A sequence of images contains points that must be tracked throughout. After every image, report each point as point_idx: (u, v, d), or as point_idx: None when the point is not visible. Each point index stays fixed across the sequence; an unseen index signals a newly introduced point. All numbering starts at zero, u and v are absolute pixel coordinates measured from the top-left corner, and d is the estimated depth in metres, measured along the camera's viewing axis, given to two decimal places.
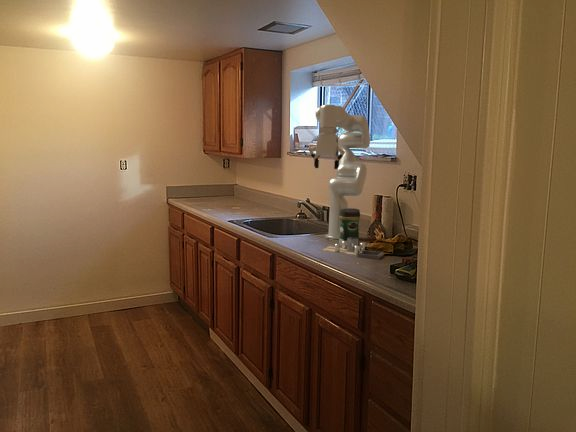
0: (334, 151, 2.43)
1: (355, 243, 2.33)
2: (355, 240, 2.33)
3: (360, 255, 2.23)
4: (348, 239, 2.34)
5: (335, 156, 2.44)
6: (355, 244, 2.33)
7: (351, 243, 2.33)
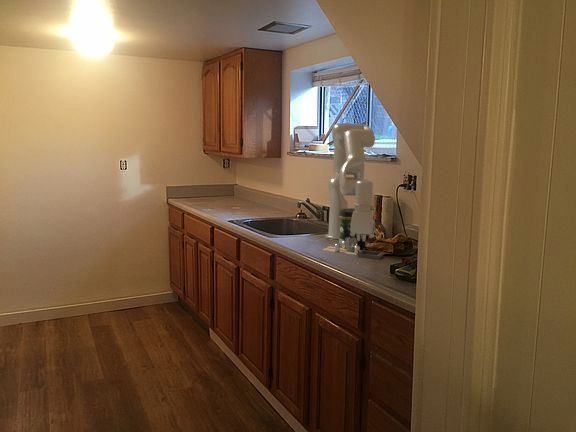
0: (371, 230, 2.29)
1: (354, 242, 2.33)
2: (353, 239, 2.33)
3: (360, 255, 2.23)
4: (346, 239, 2.34)
5: (364, 237, 2.31)
6: (354, 243, 2.33)
7: (350, 242, 2.33)
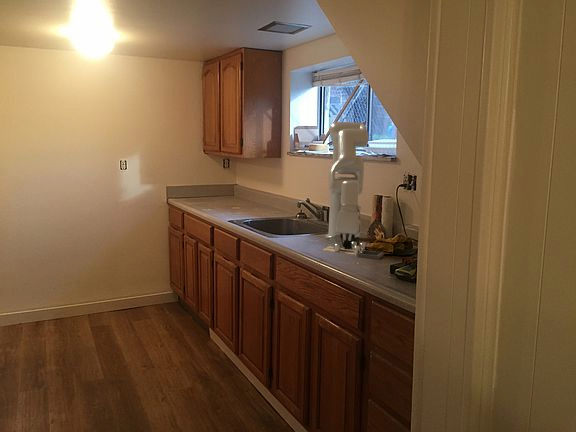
0: (356, 229, 2.31)
1: (339, 239, 2.35)
2: (339, 236, 2.35)
3: (360, 255, 2.23)
4: (332, 238, 2.36)
5: (350, 236, 2.34)
6: (340, 240, 2.35)
7: (336, 240, 2.35)
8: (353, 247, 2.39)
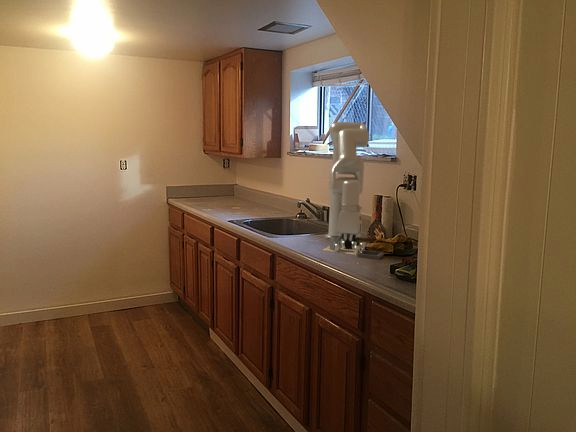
0: (357, 229, 2.31)
1: (338, 241, 2.36)
2: (338, 239, 2.35)
3: (360, 255, 2.23)
4: (331, 237, 2.36)
5: (351, 236, 2.33)
6: (338, 242, 2.36)
7: (334, 241, 2.35)
8: (353, 247, 2.39)
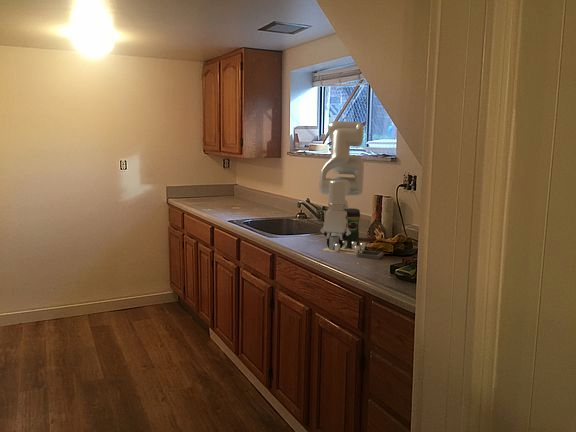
0: (343, 228, 2.34)
1: (337, 241, 2.36)
2: (337, 238, 2.35)
3: (360, 255, 2.23)
4: (330, 237, 2.36)
5: (341, 235, 2.35)
6: (337, 242, 2.36)
7: (333, 241, 2.35)
8: (353, 247, 2.39)
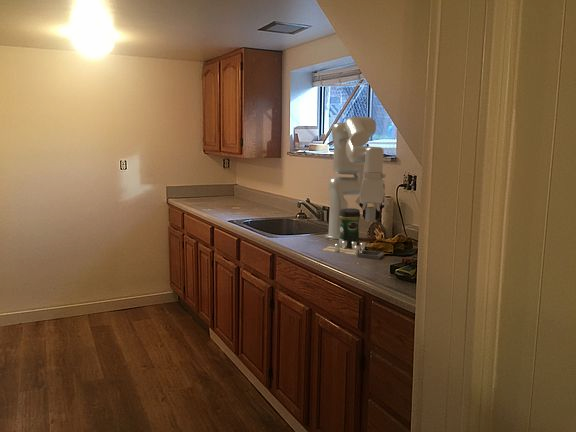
0: (381, 198, 2.19)
1: (374, 212, 2.21)
2: (374, 209, 2.21)
3: (360, 255, 2.23)
4: (367, 208, 2.22)
5: (378, 206, 2.21)
6: (374, 213, 2.21)
7: (370, 212, 2.21)
8: (353, 247, 2.39)
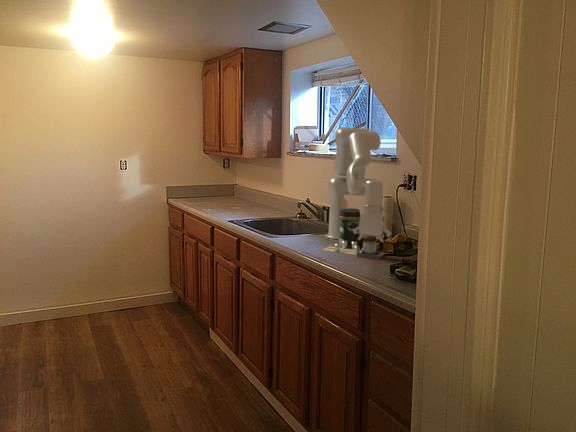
0: (380, 231, 2.21)
1: (373, 248, 2.23)
2: (373, 245, 2.23)
3: (360, 255, 2.23)
4: (366, 244, 2.24)
5: (380, 237, 2.22)
6: (373, 249, 2.23)
7: (369, 248, 2.23)
8: (353, 247, 2.39)
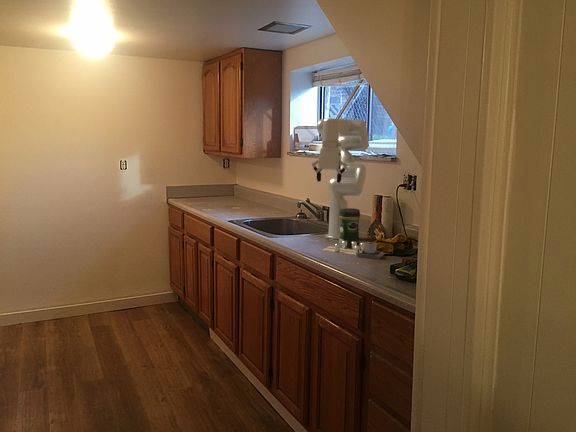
0: (337, 165, 2.43)
1: (373, 248, 2.23)
2: (373, 245, 2.23)
3: (360, 255, 2.23)
4: (366, 244, 2.24)
5: (338, 170, 2.44)
6: (373, 249, 2.23)
7: (369, 248, 2.23)
8: (353, 247, 2.39)
